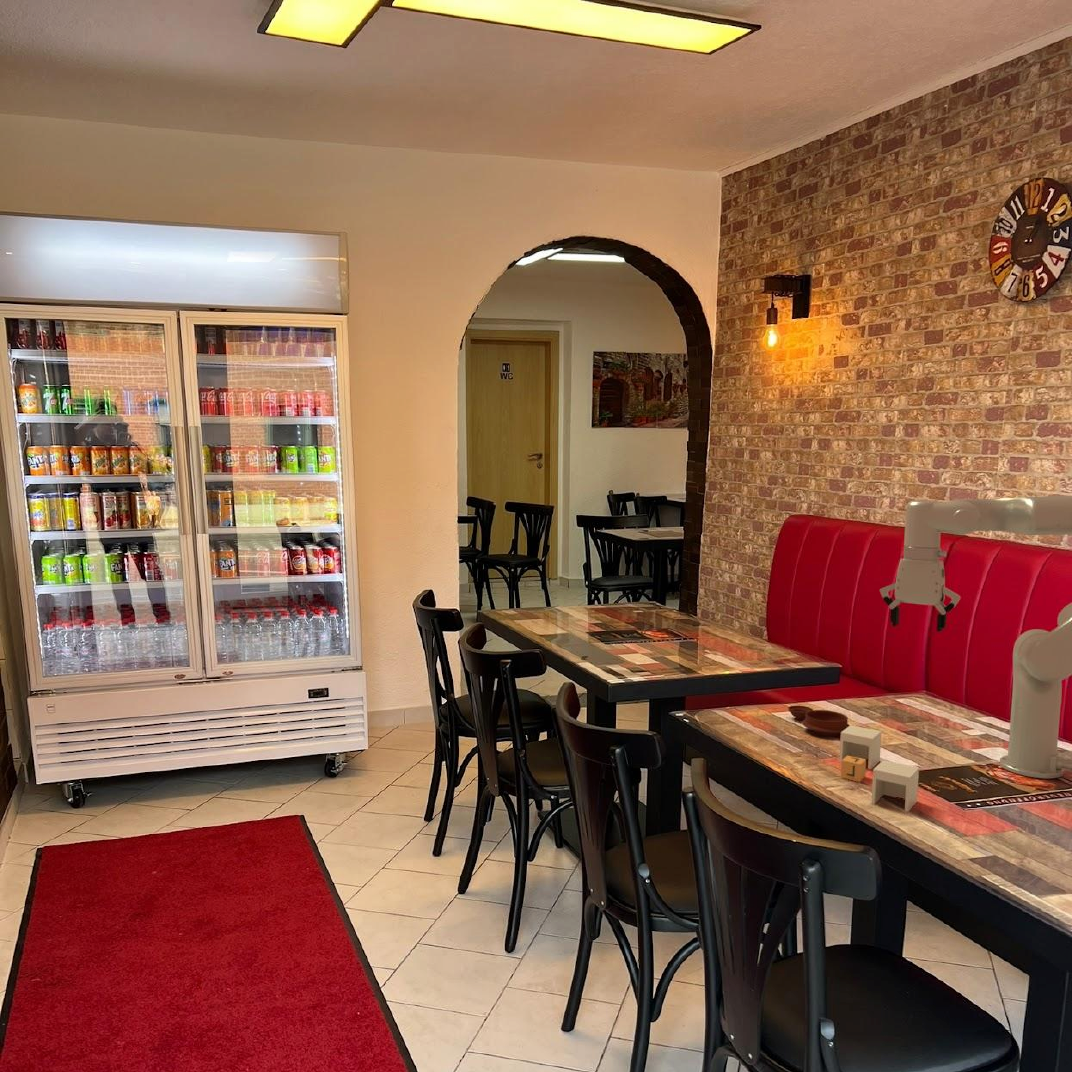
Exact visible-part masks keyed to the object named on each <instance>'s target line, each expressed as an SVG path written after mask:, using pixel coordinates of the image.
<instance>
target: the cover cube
mask: <svg viewBox="0 0 1072 1072" xmlns="http://www.w3.org/2000/svg"><path fill="white" fill-rule="evenodd" d="M849 725H850V724H849ZM839 740H840V741H839V744H840V745H839V764H842V760H843V759H844V758H845V757H846V756H847V755H848V756H852V757H857V758H862V759H866V760H868V761H867V762H868V763H867V764H868V765H867V769H868V770H873V769H874V768H875V766H876V765H878V764H879V762H880V761H881V745H882V730H877V729H871V728H867V727H866V728H865V727H862V726H856V725H850V726H849V727H848V728H846V729H845V730H843V731H842V732H840V739H839Z"/></svg>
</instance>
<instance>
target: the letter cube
mask: <svg viewBox="0 0 1072 1072" xmlns="http://www.w3.org/2000/svg"><path fill="white" fill-rule="evenodd" d="M866 766H867V759H864V758H859V757H854V756H848V755H847V756H846V757H845V758H844V759H843V760H842V763H841V771H840V772H841V773H840V774H841V775H840V778H841V779H843V778H846V779H845V780H848V779H849V780H850V781H852V780H853V781H854V782H857V781H858V782H857V783H861V782H862V780H864V779H865V778H866V770H867V769H866Z"/></svg>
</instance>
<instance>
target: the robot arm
mask: <svg viewBox="0 0 1072 1072" xmlns="http://www.w3.org/2000/svg"><path fill="white" fill-rule="evenodd" d="M904 524H905V525H904V540H903V541H904V542H903V545H904V546H903V558H901V559H900V560H899V565H898V567H897V573H896V579H895V582H894V583H892V584H889V585H887V586H885V587H884V586H883V587H882V588H880V589H879V592H880V595H881V597H882V599H883V602H884V603H885V604H886V605H887V606H888V607H889V609H890V619H889V621H890V622H891V623H892V624H891V625H892V627H896V626H899V625H900V611H901V610H900V609H901V608H900V607H899V605H900V604H902V603H904V604H905V603H906V604H916V605H922V606H923V605H925V606H934V607H935V609H936V610H937V611H938V614H937V617H936V632H937V633H941V632H943V630H944V629H946V627H947V626H946V625H947V614H948V613H949V612H950V611H952V610H953V609H954V608H956V606H957V604H958V603H959V601H960V600H961V595H959V594H958V593H956V592H954V591H952V590H951V589H949V588H947V587H946V585H945V584H946V577H945V566H944V565H945V564H944V562H943V560H940V559H942V558H947V551H946V550H943V549H941V533H945V534H953V535H959V536H965V535H968V534H971V533H974V532H983V531H984V532H1004V533H1005V532H1006V533H1010V534H1011V533H1012V534H1017V535H1022V536H1051V535H1052V536H1056V535H1057V536H1062V535H1063V536H1066V535H1069V536H1071V535H1072V495H1054V496H1053V495H1052V496H1051V495H1049V496H1045V495H1043V496H1018V497H1009V498H1008V497H1007V498H966V499H965V498H962V499H960V498H959V499H951V500H949V501H947V502H938V501H936V500H927V499H926V500H924V499H923V500H922V499H920V500H919V499H917V500H915V499H914V500H910V501H909V502H907V503H906V508H905V520H904ZM892 590H894V598H895V599H893V598H891V596H890V595H889V592H890V591H892ZM945 596H947V597H948V598H950V599H951V600H950V602H949V603H948V604H947V605H945V604H944V601H945ZM1057 616H1058V617H1057V627H1055V628H1054V629H1052V630H1051V631H1048V630H1045V629H1037V628H1036V629H1035V628H1034V629H1030V630H1027V631H1024V632H1023V633H1022V634H1020V635H1019V636H1018V638H1017V639H1016V640H1015V642H1014V644H1013V651H1012V671H1013V673H1012V674H1013V675H1012V678H1013V679H1012V694H1011V707H1010V708H1011V709H1010V721H1009V722H1010V724H1009V736H1008V738H1009V739H1008V750H1007V753H1008V754H1007V755H1004V756H1002V757H1000V759H999V765H1000V767H1001V768H1003V769H1004V770H1006V771H1009V772H1011V773H1014V774H1018V775H1020V776H1024V777H1025V776H1026V777H1029V778H1037V779H1058V778H1061V777H1063V776H1064V771H1065V770H1069V771H1072V759H1071V758H1063V756H1061V751H1060V750H1058V742H1059V741H1058V740H1059V728H1060V719H1061V718H1060V717H1061V716H1060V715H1061V706H1062V688H1063V684H1062V681H1064V680H1066V679H1067V678H1069V677H1070V676H1072V602H1070V603H1069V604H1067V605H1066V606H1064V607H1063V609H1061V611H1060V612H1059V613H1058V615H1057Z"/></svg>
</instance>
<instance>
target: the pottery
mask: <svg viewBox="0 0 1072 1072" xmlns="http://www.w3.org/2000/svg"><path fill="white" fill-rule="evenodd" d="M787 710H788V712H789V713H790V714H791V716H792V717H794V720H795V721H797V722H801V725H803V727H805V728H808V729H809V730H812V731H813V733H815V734H816V733H817V734H816V735H820V736H825V737H826V736H827V737H834V736H837V735H839V734H841V732H842V731H843V730H845V729H846V728H848V727H849V726H850V724H849V723H848V720H849V718H848V716H847V715H846V714H843V713H841V712H837V711H832V710H824V709H813V708H812V707H809V706H807V705H806V706H805V705H790V706H788V708H787Z"/></svg>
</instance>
